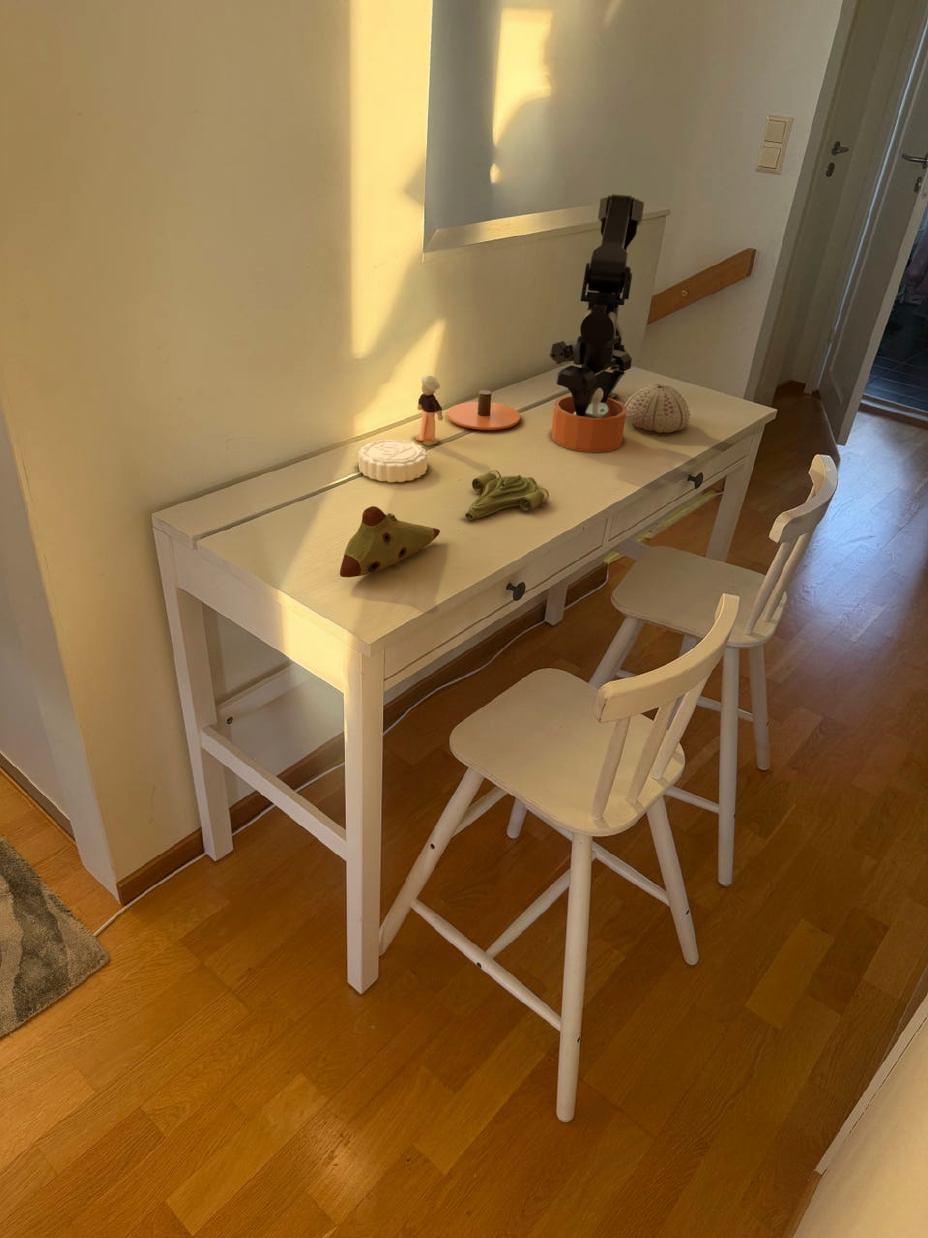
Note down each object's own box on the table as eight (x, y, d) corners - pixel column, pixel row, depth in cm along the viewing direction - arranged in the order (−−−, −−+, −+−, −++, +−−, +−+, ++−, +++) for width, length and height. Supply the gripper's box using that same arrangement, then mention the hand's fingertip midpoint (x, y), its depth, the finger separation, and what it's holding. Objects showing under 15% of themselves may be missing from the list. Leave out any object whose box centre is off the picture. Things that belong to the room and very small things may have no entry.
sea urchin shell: (646, 408, 189) (652, 371, 185) (701, 426, 181) (708, 388, 177) (608, 422, 181) (613, 384, 177) (664, 442, 173) (671, 402, 169)
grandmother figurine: (406, 438, 169) (407, 372, 162) (420, 433, 172) (422, 368, 165) (435, 450, 165) (437, 383, 158) (449, 445, 167) (452, 378, 161)
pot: (573, 420, 181) (577, 389, 178) (633, 437, 175) (638, 405, 171) (538, 439, 172) (541, 406, 168) (600, 458, 165) (605, 424, 162)
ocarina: (426, 533, 137) (428, 473, 132) (452, 545, 134) (455, 484, 129) (328, 580, 124) (325, 516, 119) (354, 595, 122) (352, 529, 116)
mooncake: (388, 449, 164) (388, 431, 162) (440, 467, 159) (441, 448, 157) (344, 470, 156) (344, 450, 154) (398, 489, 150) (398, 469, 148)
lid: (474, 401, 188) (476, 375, 185) (533, 418, 181) (535, 391, 178) (432, 420, 178) (433, 392, 175) (493, 438, 171) (494, 410, 168)
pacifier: (566, 421, 170) (595, 427, 167) (569, 388, 166) (599, 394, 164) (581, 410, 175) (610, 415, 173) (584, 378, 172) (613, 384, 169)
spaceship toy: (436, 508, 145) (437, 488, 143) (502, 475, 157) (503, 456, 155) (498, 532, 139) (499, 512, 137) (561, 496, 151) (563, 477, 149)
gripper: (586, 312, 172) (577, 391, 181) (535, 332, 159) (528, 416, 168) (638, 323, 167) (626, 404, 176) (589, 345, 154) (579, 430, 163)
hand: (589, 413), depth 171 cm, fingers closed on pacifier, 7 cm apart
